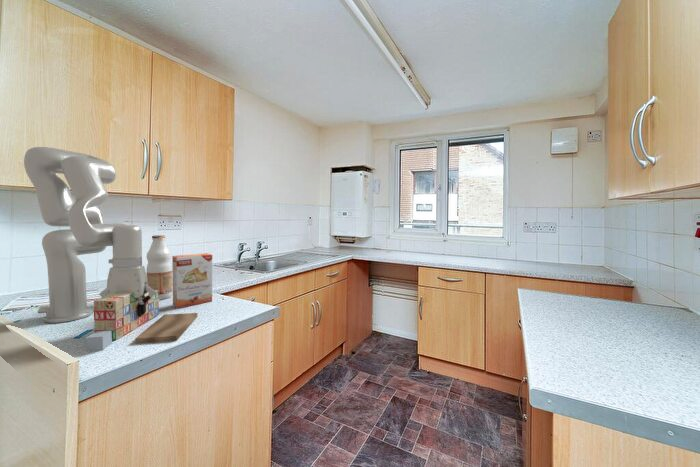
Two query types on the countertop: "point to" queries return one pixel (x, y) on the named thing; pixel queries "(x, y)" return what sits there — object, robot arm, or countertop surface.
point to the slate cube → (98, 340)
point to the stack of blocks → (122, 313)
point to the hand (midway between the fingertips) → (128, 315)
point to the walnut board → (167, 328)
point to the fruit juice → (159, 267)
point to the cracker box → (192, 279)
